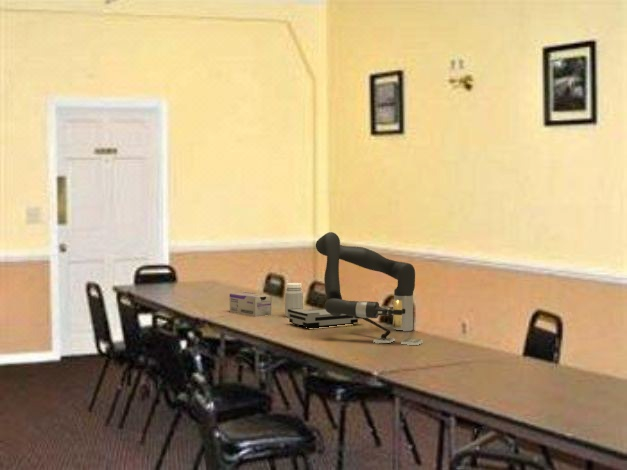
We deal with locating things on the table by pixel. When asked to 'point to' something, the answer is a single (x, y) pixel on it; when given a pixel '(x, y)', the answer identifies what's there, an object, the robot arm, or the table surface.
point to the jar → (293, 297)
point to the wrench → (377, 326)
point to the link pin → (397, 318)
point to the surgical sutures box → (250, 304)
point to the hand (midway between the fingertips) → (403, 311)
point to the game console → (318, 318)
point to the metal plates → (406, 341)
